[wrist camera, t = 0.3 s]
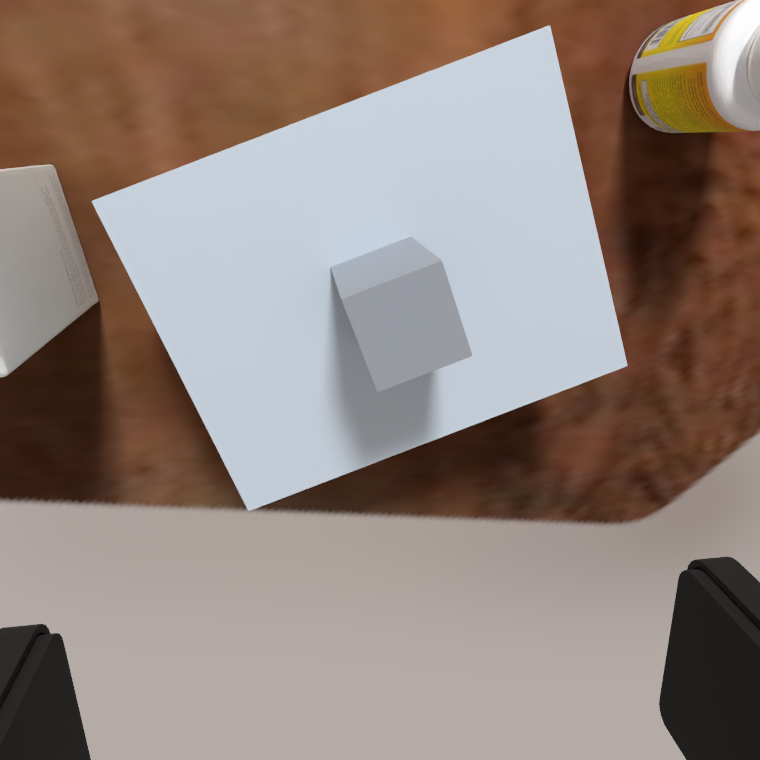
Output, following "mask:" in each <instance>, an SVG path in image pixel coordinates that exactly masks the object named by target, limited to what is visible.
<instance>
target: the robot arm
mask: <svg viewBox="0 0 760 760" xmlns="http://www.w3.org/2000/svg"><path fill="white" fill-rule="evenodd" d="M659 705H660V712H661V716H662V719H663V722H664V724H665V726H666V728H667V729H668V731H669V733H670V734H671V736H672V737H673V739H674V741H675V742H676V744H677V745H678V747H679V748H680V750H681V752H682V753H683V755H684V756H685V758H686V760H760V582H759V581H758V580H757V579H756V578H755V577H753V576H752V575H751V574H750V573H749V572H748V571H747V570H746V569H745V568H744V567H743V566H742V565H741V564H740V563H738V561H736V560H735V559H733V558H731V557H721V558H709V559H700V560H694V561H692V562H691V563H690V564H689V566H688V569H687V570H685V571H683V572H682V573H681V574H680V576H679V580H678V587H677V593H676V599H675V606H674V612H673V619H672V625H671V631H670V637H669V643H668V650H667V656H666V663H665V669H664V675H663V682H662V688H661V694H660V703H659ZM0 760H91V759H90V755H89V750H88V746H87V742H86V737H85V733H84V729H83V725H82V720H81V716H80V712H79V707H78V703H77V699H76V694H75V690H74V686H73V682H72V677H71V673H70V669H69V664H68V660H67V655H66V651H65V647H64V643H63V640H62V637H61V636H60V634H57V633H55V634H50V632H49V629H48V628H47V626H46V625H43V624H38V625H28V626H18V627H8V628H1V629H0Z"/></svg>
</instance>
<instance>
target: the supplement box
mask: <svg viewBox="0 0 760 760" xmlns="http://www.w3.org/2000/svg"><path fill="white" fill-rule="evenodd" d="M98 301H99V299H98V296H97V293H96V290H95V287H94V284H93V280H92V277H91V275H90V271H89V268H88V265H87V262H86V260H85V256H84V253H83V250H82V247H81V244H80V241H79V238H78V235H77V232H76V229H75V226H74V223H73V220H72V217H71V214H70V211H69V207H68V204H67V202H66V199H65V196H64V193H63V190H62V186H61V183H60V181H59V178H58V175H57V172H56V169H55V167H54V166H53V165H38V166H28V167H19V168H9V169H0V377H6V376H7V375H8V374H10V373H11V372H12V371H14V370H15V369H16V368H17V367H19V366H20V365H21V364H22V363H23V362H25V361H26V360H27V359H28V358H29V357H31V356H32V355H33V354H34V353H35V352H37V351H38V350H39V349H40V348H42V347H43V346H44V345H45V344H47V343H48V342H49V341H50V340H51V339H53V338H54V337H55V336H56V335H58V334H59V333H60V332H61V331H63V330H64V329H65V328H66V327H67V326H68V325H70V324H71V323H72V322H73V321H75V320H76V319H77V318H78V317H80V316H81V315H82V314H83V313H85V312H86V311H87V310H88V309H89V308H90V307H92V306H93V305H94V304H95V303H97V302H98Z"/></svg>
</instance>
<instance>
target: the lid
mask: <svg viewBox="0 0 760 760" xmlns="http://www.w3.org/2000/svg"><path fill="white" fill-rule="evenodd" d="M92 203H93V205H94V207H95V209H96V211H97V213H98V215H99V217H100V219H101V221H102V223H103V225H104V227H105V229H106V231H107V233H108V235H109V237H110V239H111V241H112V243H113V245H114V247H115V249H116V251H117V253H118V255H119V257H120V259H121V261H122V263H123V265H124V267H125V269H126V270H127V272H128V274H129V276H130V278H131V280H132V282H133V284H134V286H135V288H136V290H137V292H138V294H139V296H140V298H141V300H142V302H143V304H144V306H145V308H146V310H147V312H148V314H149V316H150V318H151V320H152V322H153V324H154V326H155V328H156V330H157V332H158V334H159V336H160V338H161V340H162V342H163V344H164V345H165V347H166V349H167V351H168V353H169V355H170V357H171V359H172V361H173V363H174V365H175V367H176V369H177V371H178V373H179V375H180V377H181V379H182V381H183V383H184V385H185V387H186V389H187V391H188V393H189V395H190V397H191V399H192V401H193V403H194V405H195V407H196V409H197V411H198V413H199V415H200V417H201V419H202V420H203V422H204V424H205V426H206V428H207V430H208V432H209V434H210V436H211V438H212V440H213V442H214V444H215V446H216V448H217V450H218V452H219V454H220V456H221V458H222V460H223V462H224V464H225V466H226V468H227V470H228V472H229V474H230V476H231V478H232V480H233V482H234V484H235V486H236V488H237V490H238V492H239V494H240V496H241V497H242V499H243V501H244V503H245V505H246V507H247V509H248V511H251V510H253V509H256V508H259V507H261V506H264V505H266V504H269V503H272V502H274V501H277V500H279V499H282V498H285V497H287V496H290V495H292V494H295V493H298V492H300V491H303V490H305V489H308V488H311V487H313V486H316V485H318V484H321V483H324V482H326V481H329V480H331V479H334V478H337V477H339V476H342V475H345V474H347V473H350V472H352V471H355V470H358V469H360V468H363V467H365V466H368V465H371V464H373V463H376V462H378V461H381V460H384V459H386V458H389V457H391V456H394V455H397V454H399V453H402V452H404V451H407V450H410V449H412V448H415V447H417V446H420V445H423V444H425V443H428V442H430V441H433V440H436V439H438V438H441V437H443V436H446V435H449V434H451V433H454V432H457V431H459V430H462V429H464V428H467V427H470V426H472V425H475V424H477V423H480V422H483V421H485V420H488V419H490V418H493V417H496V416H498V415H501V414H503V413H506V412H509V411H511V410H514V409H516V408H519V407H522V406H524V405H527V404H529V403H532V402H535V401H537V400H540V399H542V398H545V397H548V396H550V395H553V394H556V393H558V392H561V391H563V390H566V389H569V388H571V387H574V386H576V385H579V384H582V383H584V382H587V381H589V380H592V379H595V378H597V377H600V376H602V375H605V374H608V373H610V372H613V371H615V370H618V369H621V368H623V367H626V366H627V361H626V357H625V352H624V348H623V344H622V339H621V335H620V331H619V326H618V322H617V317H616V313H615V309H614V304H613V300H612V295H611V291H610V287H609V282H608V278H607V273H606V269H605V265H604V260H603V256H602V252H601V247H600V243H599V238H598V234H597V230H596V225H595V221H594V216H593V212H592V208H591V203H590V199H589V194H588V190H587V186H586V181H585V177H584V173H583V168H582V164H581V159H580V155H579V151H578V146H577V142H576V137H575V133H574V129H573V124H572V120H571V115H570V111H569V107H568V102H567V98H566V94H565V89H564V85H563V80H562V76H561V72H560V67H559V63H558V58H557V54H556V50H555V45H554V41H553V36H552V32H551V28H550V25H549V26H547V27H544V28H541V29H539V30H536V31H534V32H531V33H528V34H526V35H523V36H521V37H518V38H515V39H513V40H510V41H508V42H505V43H502V44H500V45H497V46H494V47H492V48H489V49H487V50H484V51H481V52H479V53H476V54H474V55H471V56H468V57H466V58H463V59H461V60H458V61H455V62H453V63H450V64H448V65H445V66H442V67H440V68H437V69H435V70H432V71H429V72H427V73H424V74H422V75H419V76H416V77H414V78H411V79H408V80H406V81H403V82H401V83H398V84H395V85H393V86H390V87H388V88H385V89H382V90H380V91H377V92H375V93H372V94H369V95H367V96H364V97H362V98H359V99H356V100H354V101H351V102H349V103H346V104H343V105H341V106H338V107H335V108H333V109H330V110H328V111H325V112H322V113H320V114H317V115H315V116H312V117H309V118H307V119H304V120H302V121H299V122H296V123H294V124H291V125H289V126H286V127H283V128H281V129H278V130H276V131H273V132H270V133H268V134H265V135H262V136H260V137H257V138H255V139H252V140H249V141H247V142H244V143H242V144H239V145H236V146H234V147H231V148H229V149H226V150H223V151H221V152H218V153H216V154H213V155H210V156H208V157H205V158H203V159H200V160H197V161H195V162H192V163H190V164H187V165H184V166H182V167H179V168H176V169H174V170H171V171H169V172H166V173H163V174H161V175H158V176H156V177H153V178H150V179H148V180H145V181H143V182H140V183H137V184H135V185H132V186H130V187H127V188H124V189H122V190H119V191H117V192H114V193H111V194H109V195H106V196H103V197H101V198H98V199H96V200H93V201H92Z"/></svg>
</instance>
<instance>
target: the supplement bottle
mask: <svg viewBox="0 0 760 760" xmlns="http://www.w3.org/2000/svg"><path fill="white" fill-rule="evenodd" d="M629 92H630V98H631V102H632V104H633V107H634V109H635V111H636V113H637V114H638V116H639V117H640V118H641V119H642V121H644V122H645V123H646V124H647V125H649V126H650V127H652V128H654V129H656V130H658V131H662V132H667V133H696V132H733V131H760V0H736V1H733V2H730V3H727V4H724V5H721V6H717V7H714V8H711V9H708V10H705V11H702V12H699V13H696V14H693V15H689V16H686V17H683V18H679V19H677V20H674V21H672V22H669V23H667V24H665V25H663V26H661V27H660V28H658V29H657V30H656V31H654V32H653V33H652V34H651V35H650V36H649V37H648V38H647V39H646V40H645V41H644V43H643V44H642V45H641V47H640V48H639V50H638V52H637V54H636V56H635V58H634V60H633V63H632V67H631V70H630V76H629Z"/></svg>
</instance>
